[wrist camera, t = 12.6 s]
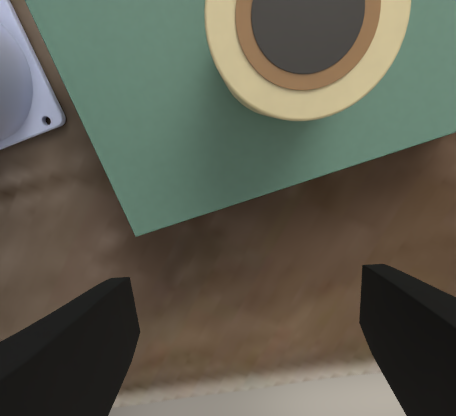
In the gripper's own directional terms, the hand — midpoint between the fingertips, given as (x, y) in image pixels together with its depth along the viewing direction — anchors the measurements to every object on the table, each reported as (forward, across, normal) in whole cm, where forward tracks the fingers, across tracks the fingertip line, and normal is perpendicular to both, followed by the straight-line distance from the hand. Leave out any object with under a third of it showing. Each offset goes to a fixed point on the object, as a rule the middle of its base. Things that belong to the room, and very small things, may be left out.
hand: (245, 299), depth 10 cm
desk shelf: (+10, -2, -8) cm, 13 cm away
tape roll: (+5, -2, -8) cm, 10 cm away
